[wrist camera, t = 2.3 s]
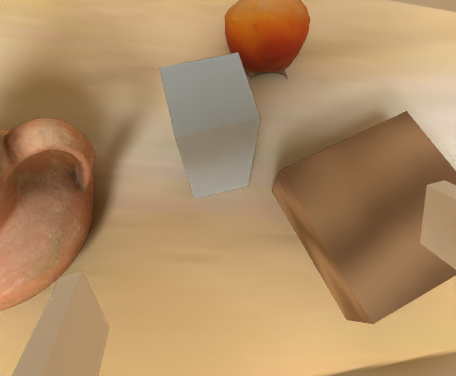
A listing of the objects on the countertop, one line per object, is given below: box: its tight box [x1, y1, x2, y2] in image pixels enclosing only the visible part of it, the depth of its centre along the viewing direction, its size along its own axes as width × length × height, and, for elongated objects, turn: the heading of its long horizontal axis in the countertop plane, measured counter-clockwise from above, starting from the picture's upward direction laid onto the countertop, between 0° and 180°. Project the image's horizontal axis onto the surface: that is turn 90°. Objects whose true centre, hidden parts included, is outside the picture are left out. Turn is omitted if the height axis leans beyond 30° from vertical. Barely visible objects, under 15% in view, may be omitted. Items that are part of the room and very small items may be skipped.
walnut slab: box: [272, 111, 456, 324], centre depth 25 cm, size 12×12×5 cm
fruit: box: [225, 0, 310, 80], centre depth 30 cm, size 8×8×8 cm
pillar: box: [160, 53, 261, 199], centre depth 23 cm, size 5×5×11 cm
